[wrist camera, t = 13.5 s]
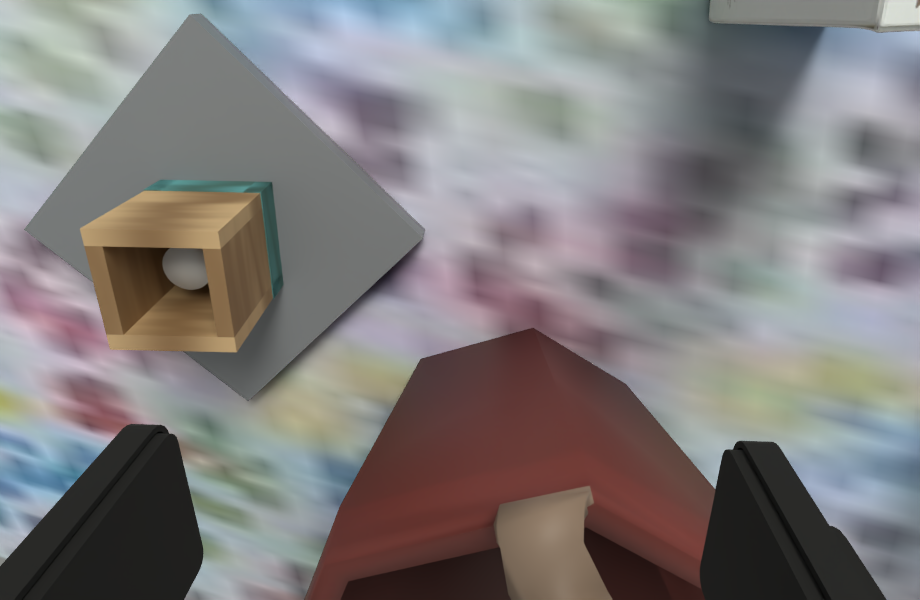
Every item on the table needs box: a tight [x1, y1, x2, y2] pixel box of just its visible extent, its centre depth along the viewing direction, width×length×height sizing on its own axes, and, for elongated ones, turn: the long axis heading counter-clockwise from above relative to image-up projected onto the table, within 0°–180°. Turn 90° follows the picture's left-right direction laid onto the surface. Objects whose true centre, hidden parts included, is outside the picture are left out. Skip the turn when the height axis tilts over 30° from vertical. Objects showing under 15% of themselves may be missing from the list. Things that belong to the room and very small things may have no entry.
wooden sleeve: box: [80, 180, 284, 352], centre depth 32 cm, size 6×6×8 cm
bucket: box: [304, 328, 715, 600], centre depth 32 cm, size 24×22×25 cm
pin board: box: [24, 14, 425, 401], centre depth 34 cm, size 16×16×6 cm
